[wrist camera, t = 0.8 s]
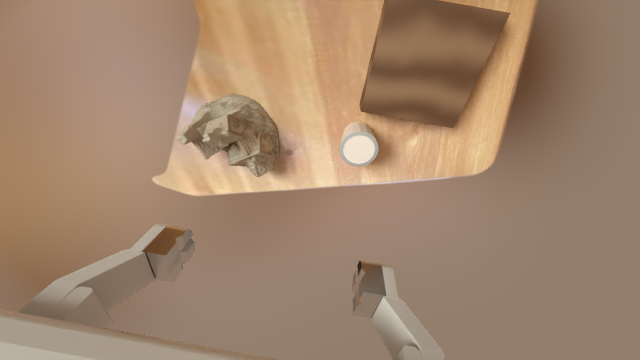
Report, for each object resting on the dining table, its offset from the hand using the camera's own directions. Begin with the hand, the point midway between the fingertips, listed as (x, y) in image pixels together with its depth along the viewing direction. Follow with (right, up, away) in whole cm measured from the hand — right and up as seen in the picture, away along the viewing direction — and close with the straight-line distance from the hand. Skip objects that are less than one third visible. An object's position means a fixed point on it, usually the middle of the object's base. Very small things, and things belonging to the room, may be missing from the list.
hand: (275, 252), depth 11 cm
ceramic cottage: (-15, +14, +38) cm, 43 cm away
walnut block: (+19, +23, +28) cm, 41 cm away
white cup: (+10, +13, +35) cm, 39 cm away
